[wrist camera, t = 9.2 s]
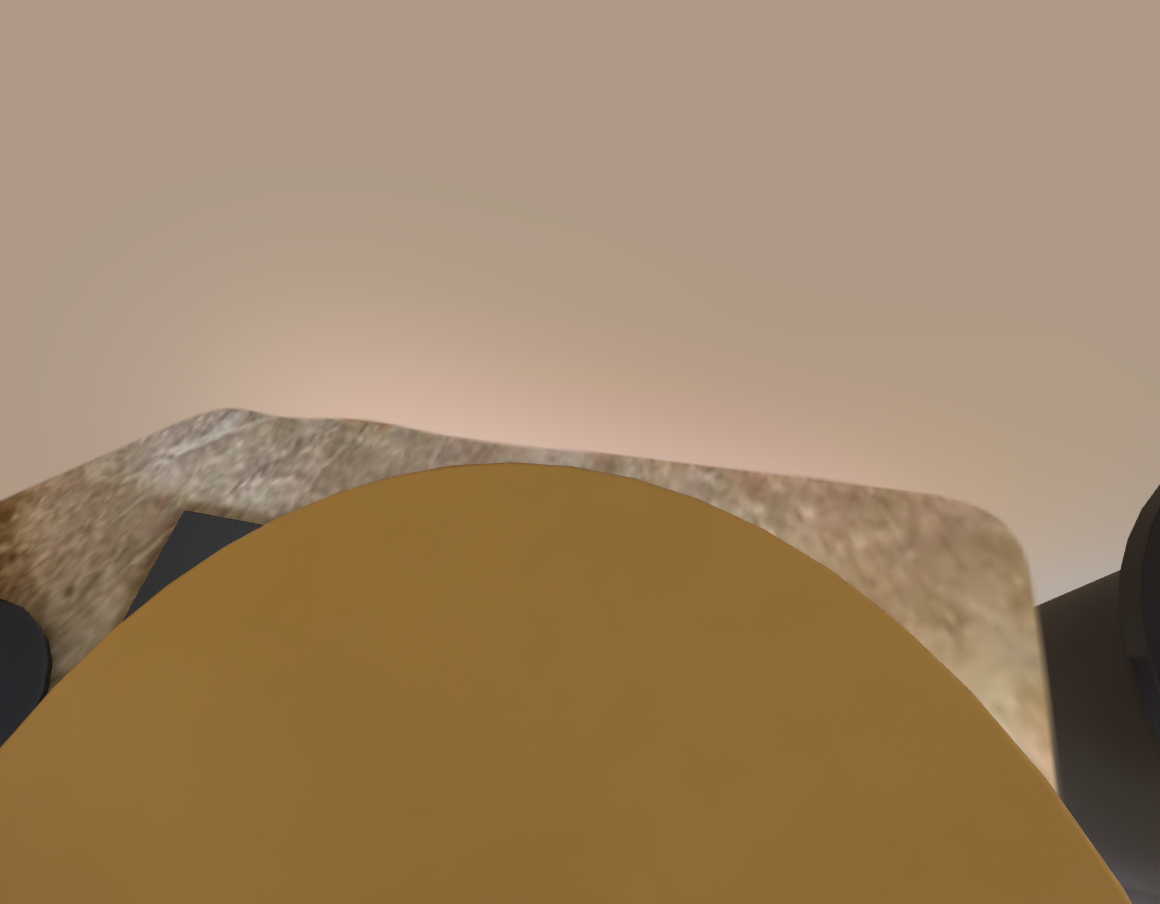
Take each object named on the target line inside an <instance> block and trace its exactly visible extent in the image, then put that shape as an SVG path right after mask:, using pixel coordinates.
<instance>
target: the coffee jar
mask: <svg viewBox="0 0 1160 904" xmlns="http://www.w3.org/2000/svg"><path fill="white" fill-rule="evenodd" d="M51 668H52V659H51V653H50V648H49V642H48V639H47V637H46V636H45V635H44V633H43V632H42V630H41V628H40V627H39V626H38V624H37V623H36V621H35V620H34V619H33V617H32V616H31V615H30V613H29V612H28V611H26V610H25V609H24V608H23V607H20V606H18V605H15V604H13V603H11V602H8V601H6V600H3V599H0V747H1V746H2V745H3V744H4V743H5V742H6V741H7V739H8V738H9V737H10V736H11V735H12V734H13V733H14V731H15V730H16V729H17V728H18V727H19V726H20V725H21V724H22V722H23V721H24V720H25V719H26V718H27V717H28V716H29V714H30V713H31V712H32V711H33V710H34V709H35V708H36V707H37V705H38V704H39V703H40V702H41V701H42V700H43V699H44V697H45V696H46V695H47V692H48V688H49V681H50V674H51Z"/></svg>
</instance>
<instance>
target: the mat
mask: <svg viewBox="0 0 1160 904" xmlns="http://www.w3.org/2000/svg"><path fill="white" fill-rule="evenodd" d="M262 526H264V525H260V524H255V523H249V522H244V521H238V520H233V519H228V518H222V517H217V516H211V515H206V514H201V513H195V512H190V511H184V512H183V514H182V516H181V518H180V519H179V521H178V523H177V525H176V527H175V528H174V530H173V532H172V534H171V535H170V537H169V539H168V541H167V543H166V544H165V546H164V548H163V550H162V552H161V553H160V555H159V557H158V559H157V561H156V562H155V564H154V566H153V568H152V569H151V571H150V573H149V575H148V577H147V578H146V580H145V582H144V584H143V586H142V587H141V589H140V591H139V593H138V595H137V596H136V598H135V600H134V602H133V603H132V605H131V607H130V609H129V611H128V612H127V614H126V616H125V618H124V620H125V619H127V618H128V617H129V616H130V615H132V614H133V613H134V612H135V611H136V610H138V609H139V608H140V607H141V606H143V605H144V604H145V603H146V602H148V601H149V600H150V599H151V598H152V597H154V596H155V595H156V594H157V593H159V592H160V591H161V590H162V589H163V588H165V587H166V586H167V585H169V584H170V583H171V582H173V581H174V580H176V579H177V578H179V577H180V576H182V575H183V574H185V573H186V572H188V571H189V570H191V569H192V568H194V567H195V566H197V565H198V564H200V563H201V562H203V561H204V560H205V559H207V558H208V557H210V556H211V555H213V554H214V553H216V552H217V551H219V550H220V549H222V548H223V547H225V546H227V545H229V544H231V543H232V542H234V541H236V540H238V539H240V538H242V537H243V536H245V535H247V534H249V533H251V532H253V531H254V530H256V529H258V528H260V527H262ZM124 620H123V621H124ZM123 621H122V622H123Z"/></svg>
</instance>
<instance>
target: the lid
mask: <svg viewBox="0 0 1160 904" xmlns="http://www.w3.org/2000/svg"><path fill="white" fill-rule="evenodd" d="M0 904H1132V903H1131V901H1130V899H1129V898H1128V896H1127V894H1126V893H1125V891H1124V889H1123V887H1122V886H1121V884H1120V883H1119V881H1118V880H1117V879H1116V877H1115V876H1114V874H1113V873H1112V872H1111V870H1110V869H1109V867H1108V866H1107V864H1106V863H1105V862H1104V860H1103V859H1102V857H1101V856H1100V855H1099V853H1098V852H1097V850H1096V849H1095V847H1094V846H1093V845H1092V843H1091V842H1090V840H1089V839H1088V837H1087V836H1086V835H1085V833H1084V832H1083V830H1082V829H1081V828H1080V826H1079V825H1078V823H1077V822H1076V820H1075V819H1074V818H1073V816H1072V815H1071V813H1070V812H1069V811H1068V809H1067V808H1066V806H1065V805H1064V803H1063V802H1062V801H1061V799H1060V798H1059V796H1058V795H1057V794H1056V792H1055V791H1054V789H1053V788H1052V786H1051V785H1050V784H1049V782H1048V781H1047V779H1046V778H1045V777H1044V776H1043V775H1042V773H1041V772H1040V771H1039V770H1038V769H1037V768H1036V766H1035V765H1034V764H1033V763H1032V762H1031V761H1030V759H1029V758H1028V757H1027V756H1026V755H1025V754H1024V752H1023V751H1022V750H1021V749H1020V748H1019V747H1018V745H1017V744H1016V743H1015V742H1014V741H1013V740H1012V738H1011V737H1010V736H1009V735H1008V734H1007V733H1006V731H1005V730H1004V729H1003V728H1002V727H1001V726H1000V724H999V723H998V722H997V721H996V720H995V719H994V717H993V716H992V715H991V714H990V713H989V712H988V710H987V709H986V708H985V707H984V706H983V705H982V703H981V702H980V701H979V700H978V699H977V698H976V696H975V695H974V694H973V693H972V692H971V691H970V690H969V689H968V688H967V687H966V686H965V685H964V684H963V683H962V682H961V681H960V680H959V679H958V678H957V677H956V676H954V675H953V674H952V673H951V672H950V671H949V670H948V669H947V668H946V667H945V666H944V665H943V664H942V663H941V662H940V661H939V660H938V659H937V658H936V657H935V656H934V655H933V654H931V653H930V652H929V651H928V650H927V649H926V648H925V647H924V646H923V645H922V644H921V643H920V642H919V641H918V640H917V639H916V638H915V637H914V636H913V635H912V634H911V633H910V632H908V631H907V630H906V629H905V628H904V627H903V626H902V625H901V624H900V623H899V622H897V621H896V620H895V619H894V618H892V617H891V616H890V615H888V614H887V613H886V612H885V611H883V610H882V609H881V608H879V607H878V606H877V605H875V604H874V603H873V602H872V601H870V600H869V599H868V598H866V597H865V596H864V595H863V594H861V593H860V592H859V591H857V590H856V589H855V588H853V587H852V586H851V585H850V584H848V583H847V582H846V581H844V580H843V579H842V578H841V577H839V576H838V575H837V574H835V573H834V572H833V571H831V570H830V569H828V568H827V567H825V566H823V565H822V564H820V563H818V562H817V561H815V560H814V559H812V558H810V557H809V556H807V555H805V554H804V553H802V552H800V551H799V550H797V549H795V548H794V547H792V546H791V545H789V544H787V543H786V542H784V541H782V540H781V539H779V538H777V537H776V536H774V535H773V534H771V533H769V532H768V531H766V530H764V529H762V528H760V527H758V526H756V525H754V524H751V523H749V522H747V521H745V520H743V519H741V518H738V517H736V516H734V515H732V514H730V513H728V512H725V511H723V510H721V509H719V508H717V507H715V506H712V505H710V504H708V503H706V502H704V501H702V500H699V499H697V498H693V497H690V496H687V495H684V494H681V493H678V492H675V491H672V490H669V489H666V488H663V487H659V486H656V485H653V484H650V483H647V482H644V481H641V480H638V479H635V478H630V477H624V476H619V475H614V474H609V473H604V472H598V471H593V470H588V469H583V468H578V467H572V466H558V465H543V464H528V463H513V462H510V463H492V464H473V465H455V466H448V467H442V468H436V469H431V470H425V471H419V472H413V473H408V474H402V475H396V476H392V477H389V478H385V479H382V480H379V481H375V482H372V483H368V484H365V485H362V486H358V487H355V488H351V489H348V490H345V491H341V492H338V493H335V494H333V495H330V496H328V497H326V498H323V499H321V500H318V501H316V502H314V503H311V504H309V505H306V506H304V507H302V508H299V509H297V510H295V511H292V512H290V513H287V514H285V515H283V516H280V517H278V518H276V519H275V520H273V521H271V522H269V523H267V524H265V525H264V526H262V527H260V528H258V529H256V530H254V531H253V532H251V533H249V534H247V535H245V536H243V537H242V538H240V539H238V540H236V541H234V542H232V543H231V544H229V545H227V546H225V547H223V548H222V549H220V550H219V551H217V552H216V553H214V554H213V555H211V556H210V557H208V558H207V559H205V560H204V561H203V562H201V563H200V564H198V565H197V566H195V567H194V568H192V569H191V570H189V571H188V572H186V573H185V574H183V575H182V576H180V577H179V578H177V579H176V580H174V581H173V582H171V583H170V584H169V585H167V586H166V587H165V588H163V589H162V590H161V591H160V592H159V593H157V594H156V595H155V596H154V597H152V598H151V599H150V600H149V601H148V602H146V603H145V604H144V605H143V606H141V607H140V608H139V609H138V610H136V611H135V612H134V613H133V614H132V615H130V616H129V617H128V618H127V619H125V620H124V621H123V622H122V623H121V624H119V625H118V626H117V627H116V628H114V629H113V630H112V631H111V632H110V633H109V634H108V635H107V636H106V637H105V638H104V639H103V640H102V641H100V642H99V643H98V644H97V645H96V646H95V647H94V648H93V649H92V650H91V651H90V652H89V653H88V654H87V655H86V656H85V657H84V658H83V659H82V660H81V661H80V662H79V663H78V664H77V665H76V666H75V667H74V668H73V669H72V670H71V671H70V672H68V673H67V674H66V675H65V676H64V677H63V678H62V679H61V680H60V681H59V682H58V683H57V684H56V685H55V686H54V687H53V688H52V690H51V691H50V692H49V693H48V694H47V695H46V696H45V697H44V699H43V700H42V701H41V702H40V703H39V704H38V705H37V707H36V708H35V709H34V710H33V711H32V712H31V713H30V714H29V716H28V717H27V718H26V719H25V720H24V721H23V722H22V724H21V725H20V726H19V727H18V728H17V729H16V730H15V731H14V733H13V734H12V735H11V736H10V737H9V738H8V739H7V741H6V742H5V743H4V744H3V745H2V746H1V747H0Z"/></svg>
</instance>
